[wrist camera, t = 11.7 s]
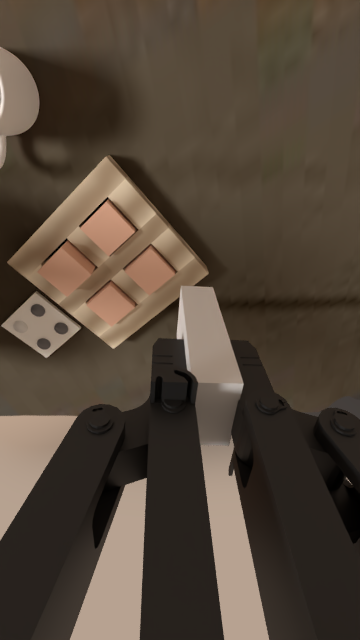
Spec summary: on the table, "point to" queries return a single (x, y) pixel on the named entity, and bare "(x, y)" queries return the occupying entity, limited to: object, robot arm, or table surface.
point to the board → (148, 231)
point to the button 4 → (150, 269)
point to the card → (41, 325)
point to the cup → (15, 99)
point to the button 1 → (67, 268)
